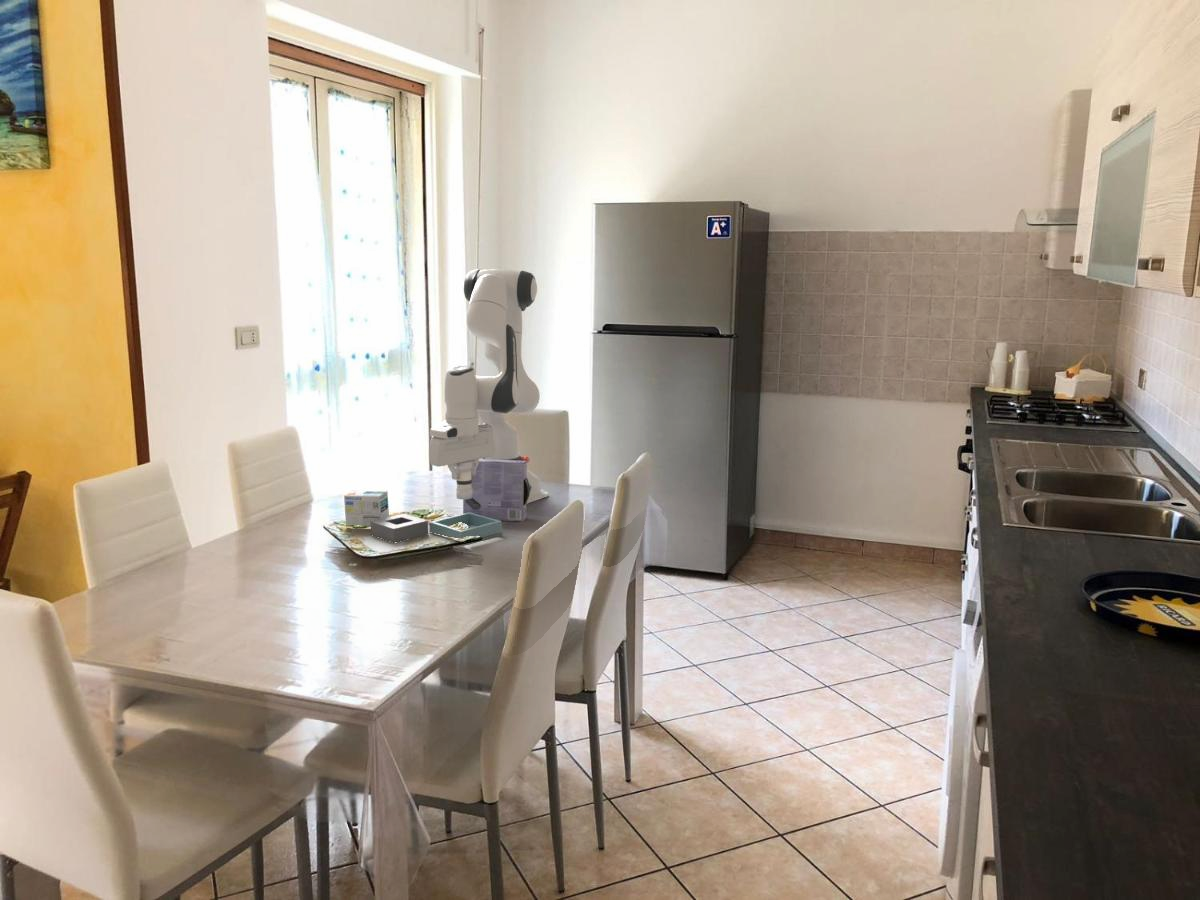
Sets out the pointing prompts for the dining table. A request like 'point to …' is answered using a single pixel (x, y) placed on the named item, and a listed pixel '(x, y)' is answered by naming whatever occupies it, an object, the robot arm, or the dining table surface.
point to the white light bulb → (464, 480)
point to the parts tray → (474, 521)
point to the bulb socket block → (399, 527)
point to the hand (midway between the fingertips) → (463, 477)
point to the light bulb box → (365, 507)
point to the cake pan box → (499, 490)
